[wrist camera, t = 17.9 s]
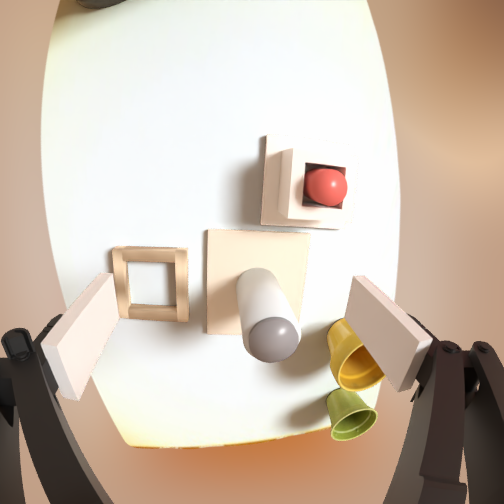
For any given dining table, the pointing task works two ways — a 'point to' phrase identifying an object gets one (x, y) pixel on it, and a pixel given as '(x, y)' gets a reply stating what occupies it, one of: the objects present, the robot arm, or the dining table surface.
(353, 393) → the plant pot
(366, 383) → the plant pot
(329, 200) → the latch button
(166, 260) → the socket
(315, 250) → the dining table surface
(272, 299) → the filter cartridge
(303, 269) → the sand mat
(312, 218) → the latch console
